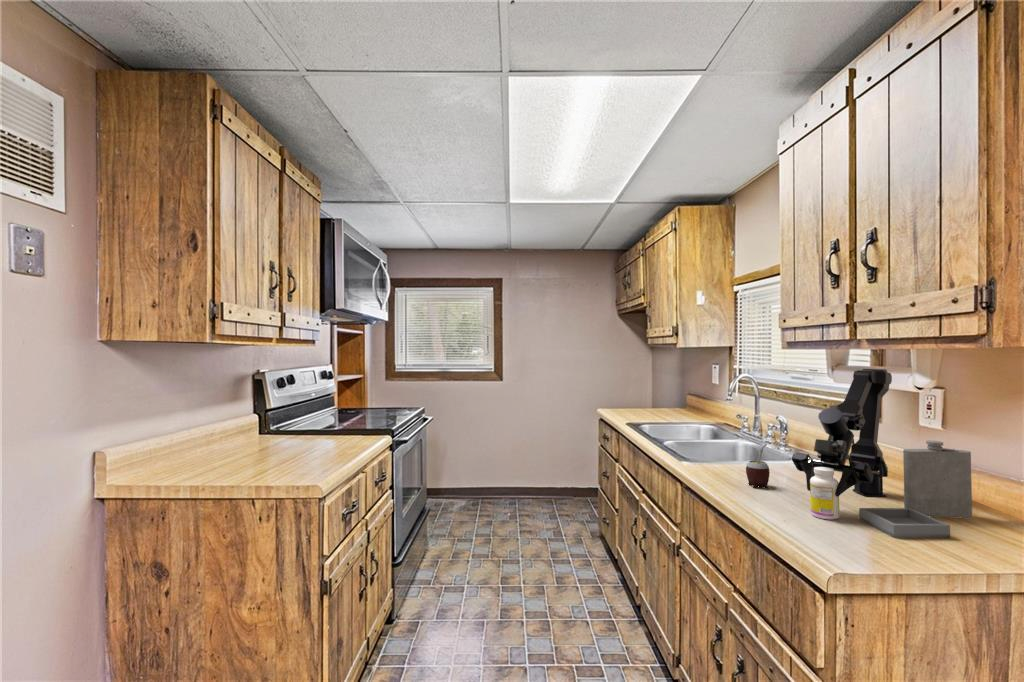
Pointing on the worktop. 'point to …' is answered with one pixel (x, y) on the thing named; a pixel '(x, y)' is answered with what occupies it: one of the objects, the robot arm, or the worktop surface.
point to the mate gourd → (758, 472)
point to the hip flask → (938, 481)
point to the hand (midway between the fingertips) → (822, 492)
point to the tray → (904, 523)
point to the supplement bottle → (824, 494)
